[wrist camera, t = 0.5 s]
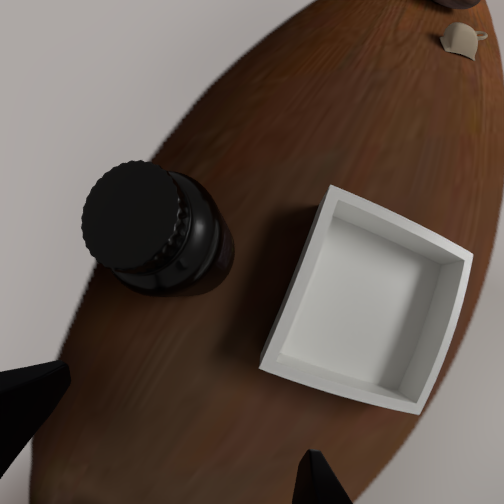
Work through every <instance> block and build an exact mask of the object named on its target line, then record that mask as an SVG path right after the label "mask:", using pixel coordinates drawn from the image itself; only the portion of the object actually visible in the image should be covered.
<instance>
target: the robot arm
mask: <svg viewBox="0 0 504 504" xmlns="http://www.w3.org/2000/svg"><path fill="white" fill-rule="evenodd" d="M70 384H71V376H70V370H69V366H68V364H66V363H65V362H63V361H61V360H56V361H52V362H48V363H43V364H38V365H33V366H28V367H24V368H18V369H13V370H7V371H2V372H0V479H1V477H2V476H3V474H4V473H5V472H6V470H7V469H8V468H9V466H10V465H11V464H12V462H13V461H14V460H15V458H16V457H17V456H18V454H19V453H20V452H21V451H22V449H23V448H24V447H25V445H26V444H27V443H28V442H29V440H30V439H31V438H32V437H33V435H34V434H35V433H36V432H37V430H38V429H39V428H40V427H41V425H42V424H43V423H44V422H45V420H46V419H47V418H48V417H49V416H50V414H51V413H52V412H53V410H54V409H55V407H56V406H57V404H58V403H59V401H60V400H61V398H62V397H63V395H64V393H65V392H66V390H67V389H68V387H69V386H70ZM292 504H353V503H352V501H351V500H350V498H349V496H348V495H347V493H346V492H345V490H344V489H343V487H342V485H341V484H340V482H339V480H338V479H337V477H336V476H335V474H334V472H333V471H332V469H331V467H330V466H329V464H328V462H327V461H326V459H325V457H324V456H323V454H322V452H321V451H319V450H314V449H309V450H307V452H306V453H305V455H304V456H303V458H302V459H301V461H300V463H299V466H298V471H297V477H296V483H295V488H294V493H293V499H292Z"/></svg>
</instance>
